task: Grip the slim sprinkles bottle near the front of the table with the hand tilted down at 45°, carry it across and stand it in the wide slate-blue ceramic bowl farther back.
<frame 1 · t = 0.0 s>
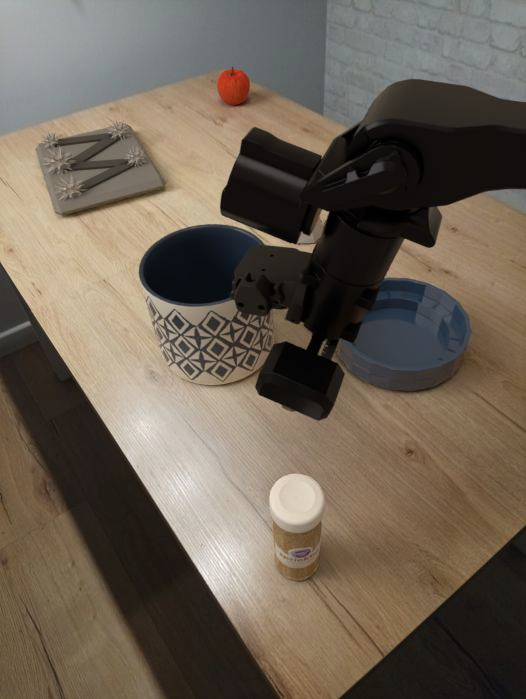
hand: (302, 373, 52), 12 cm above the table, tool pointing down, fingers open, 9 cm apart
flask: (303, 233, 89), on the table
planter: (218, 344, 72), on the table
bowl: (396, 343, 71), on the table
apple: (234, 102, 128), on the table
decorative plate: (99, 172, 108), on the table
sprinkles bottle: (297, 559, 52), on the table
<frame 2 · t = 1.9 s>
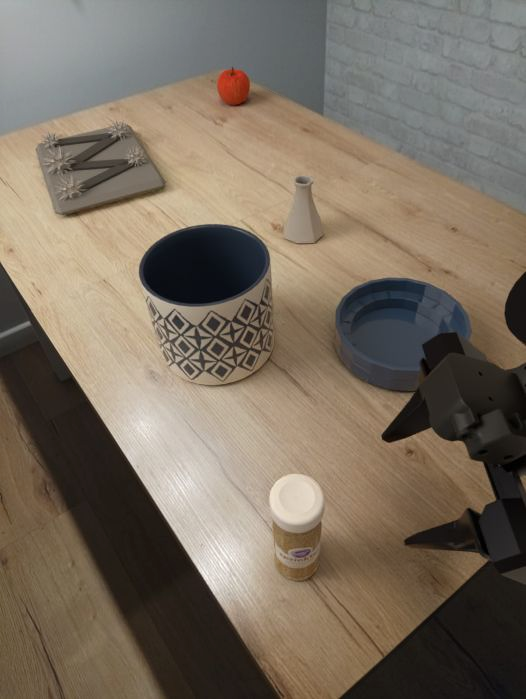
hand: (394, 488, 42), 13 cm above the table, tool tilted 45°, fingers open, 9 cm apart
nothing on the table moved.
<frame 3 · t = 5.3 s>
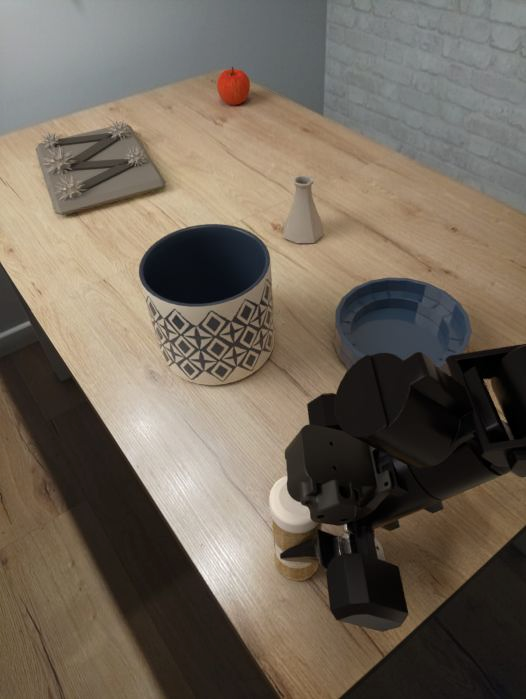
hand: (281, 532, 47), 7 cm above the table, tool tilted 45°, fingers closed on sprinkles bottle, 4 cm apart
sprinkles bottle: (297, 559, 52), on the table, touching gripper
everything else where it was.
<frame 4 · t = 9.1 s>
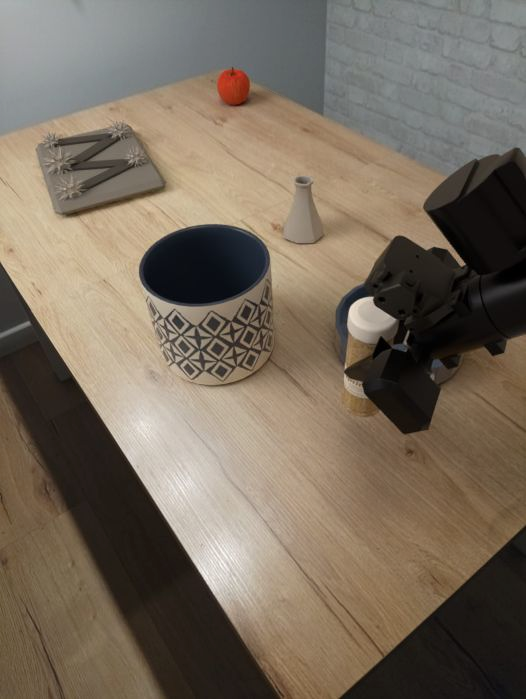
hand: (354, 358, 52), 13 cm above the table, tool tilted 45°, fingers closed on sprinkles bottle, 4 cm apart
sprinkles bottle: (362, 402, 56), point 6 cm above the table, touching gripper
everything else where it was.
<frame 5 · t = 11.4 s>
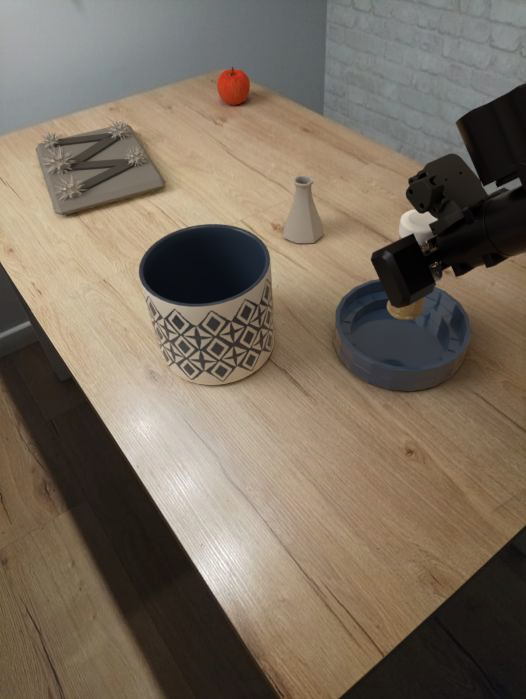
hand: (404, 263, 62), 13 cm above the table, tool tilted 45°, fingers closed on sprinkles bottle, 4 cm apart
sprinkles bottle: (404, 311, 66), point 6 cm above the table, touching gripper
everything else where it was.
when the fingers open (7 cm above the table, at t = 13.4 s): sprinkles bottle stays where it is, resting on bowl.
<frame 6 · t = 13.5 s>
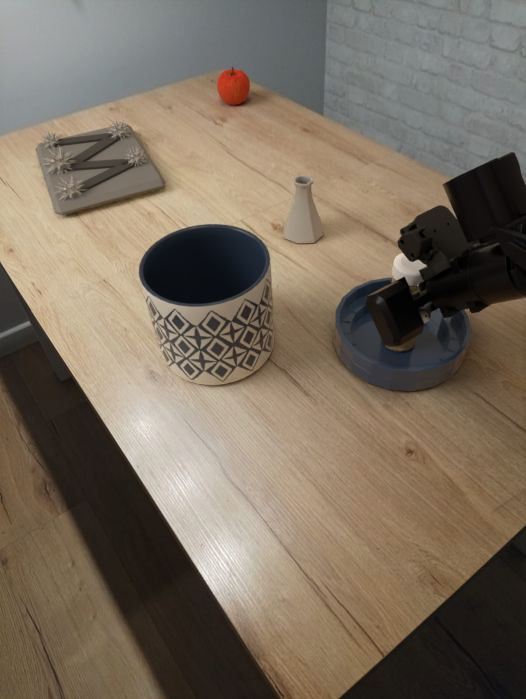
hand: (397, 299, 66), 7 cm above the table, tool tilted 45°, fingers open, 4 cm apart
sprinkles bottle: (398, 342, 70), resting on bowl
everything else where it was.
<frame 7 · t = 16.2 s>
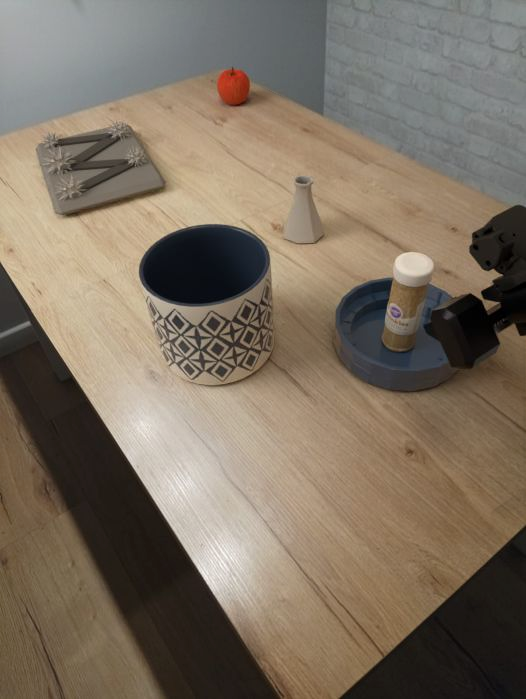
hand: (455, 311, 58), 11 cm above the table, tool tilted 45°, fingers open, 9 cm apart
nothing on the table moved.
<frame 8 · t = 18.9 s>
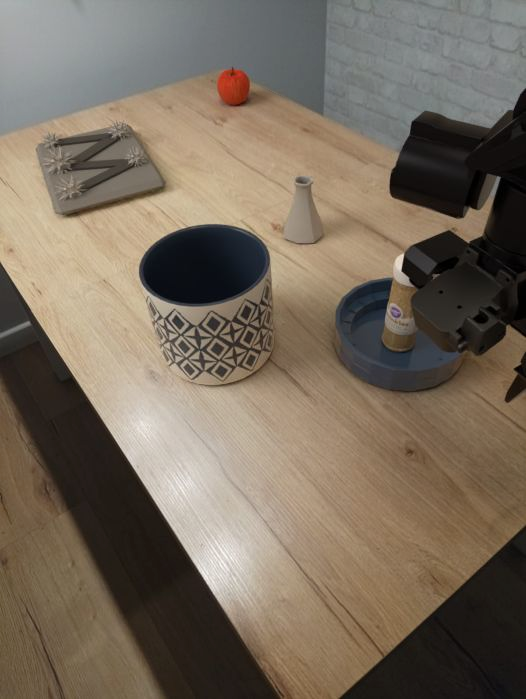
hand: (473, 367, 50), 13 cm above the table, tool pointing down, fingers open, 9 cm apart
nothing on the table moved.
at the end: sprinkles bottle inside the target area in the bowl (0.2 cm from its centre), point 0.4 cm above the bowl's base; the gripper is holding nothing; sprinkles bottle tilted 0° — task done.
